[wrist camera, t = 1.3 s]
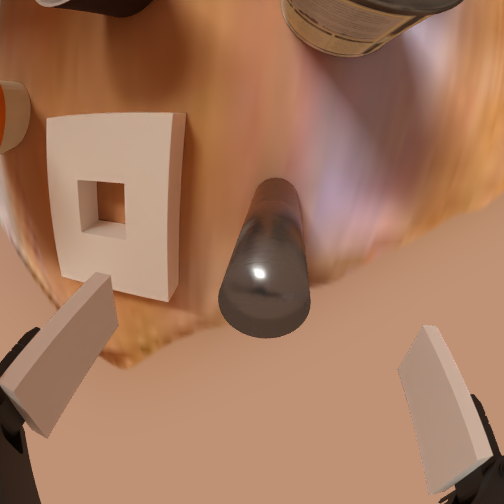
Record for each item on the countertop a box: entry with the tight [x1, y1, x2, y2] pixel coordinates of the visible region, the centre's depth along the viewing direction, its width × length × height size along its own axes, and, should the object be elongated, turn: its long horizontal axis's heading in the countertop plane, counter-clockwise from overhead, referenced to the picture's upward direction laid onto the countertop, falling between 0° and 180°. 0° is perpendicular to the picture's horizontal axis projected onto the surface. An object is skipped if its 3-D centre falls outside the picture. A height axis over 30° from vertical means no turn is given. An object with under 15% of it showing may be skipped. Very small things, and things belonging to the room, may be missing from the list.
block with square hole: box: [46, 112, 186, 302], centre depth 27 cm, size 18×14×4 cm
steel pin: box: [218, 178, 311, 338], centre depth 20 cm, size 4×4×16 cm
